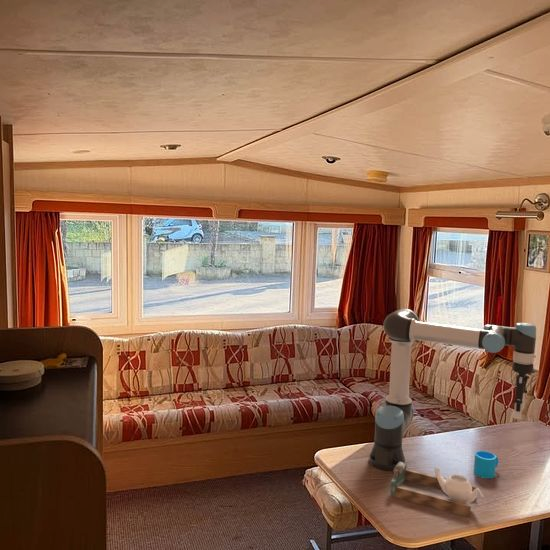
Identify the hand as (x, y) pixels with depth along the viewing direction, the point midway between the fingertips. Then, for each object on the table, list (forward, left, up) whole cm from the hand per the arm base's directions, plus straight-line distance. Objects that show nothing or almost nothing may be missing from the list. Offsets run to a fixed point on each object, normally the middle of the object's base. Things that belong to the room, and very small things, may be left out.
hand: (519, 413), depth 216 cm
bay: (-26, -31, -28) cm, 49 cm away
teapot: (-17, -31, -28) cm, 45 cm away
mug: (-10, 0, -28) cm, 30 cm away
